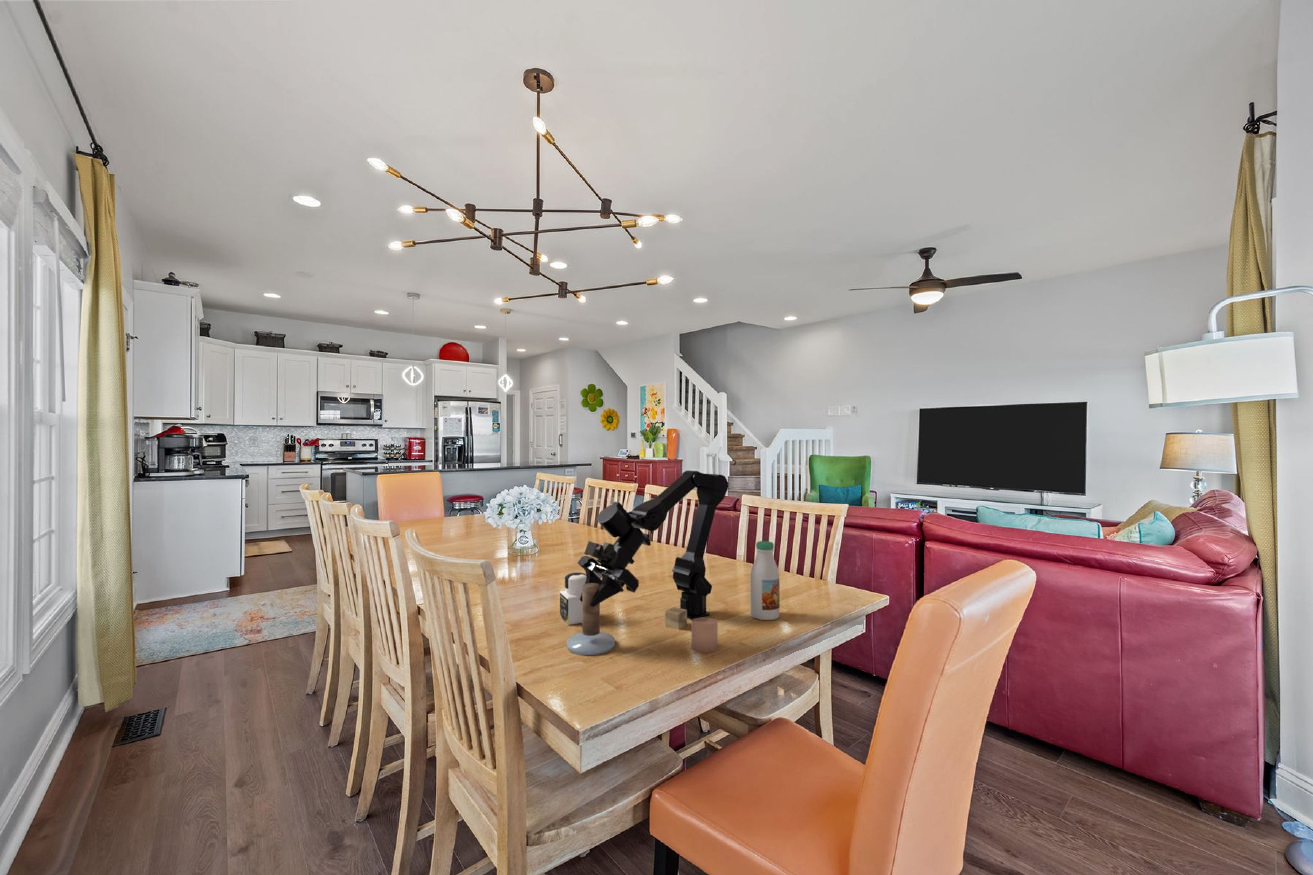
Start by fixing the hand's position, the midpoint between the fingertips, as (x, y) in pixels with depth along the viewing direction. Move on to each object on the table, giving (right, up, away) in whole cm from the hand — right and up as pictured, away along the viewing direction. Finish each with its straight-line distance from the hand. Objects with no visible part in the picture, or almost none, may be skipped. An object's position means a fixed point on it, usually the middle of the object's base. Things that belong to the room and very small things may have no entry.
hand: (586, 603), depth 122 cm
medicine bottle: (-5, -10, +18) cm, 22 cm away
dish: (+1, -10, +1) cm, 10 cm away
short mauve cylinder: (+27, -10, 0) cm, 29 cm away
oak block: (+21, -10, +14) cm, 27 cm away
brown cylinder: (+1, -7, +1) cm, 7 cm away
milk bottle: (+46, -10, +21) cm, 51 cm away
